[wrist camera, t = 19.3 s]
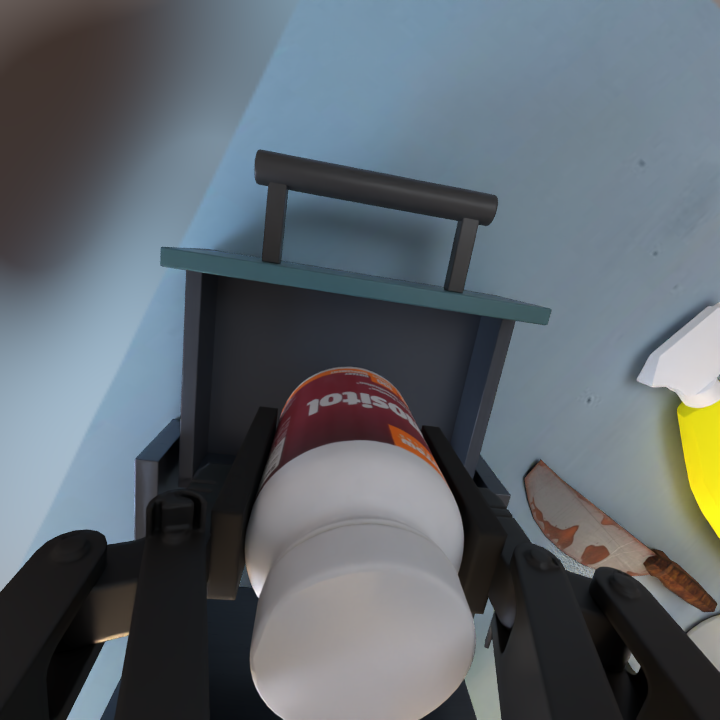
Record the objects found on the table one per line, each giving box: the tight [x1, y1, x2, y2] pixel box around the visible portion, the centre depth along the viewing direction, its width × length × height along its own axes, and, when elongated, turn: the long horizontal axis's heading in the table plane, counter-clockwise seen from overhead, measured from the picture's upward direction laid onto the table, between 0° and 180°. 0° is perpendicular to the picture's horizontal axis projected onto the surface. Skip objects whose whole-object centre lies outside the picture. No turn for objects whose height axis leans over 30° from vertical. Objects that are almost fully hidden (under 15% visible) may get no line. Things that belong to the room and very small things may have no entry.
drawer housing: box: [100, 419, 510, 720], centre depth 21 cm, size 14×21×12 cm
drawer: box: [160, 150, 551, 488], centre depth 21 cm, size 18×18×6 cm
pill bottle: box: [244, 367, 476, 720], centre depth 13 cm, size 6×6×11 cm
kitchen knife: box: [524, 460, 717, 612], centre depth 29 cm, size 21×2×5 cm
